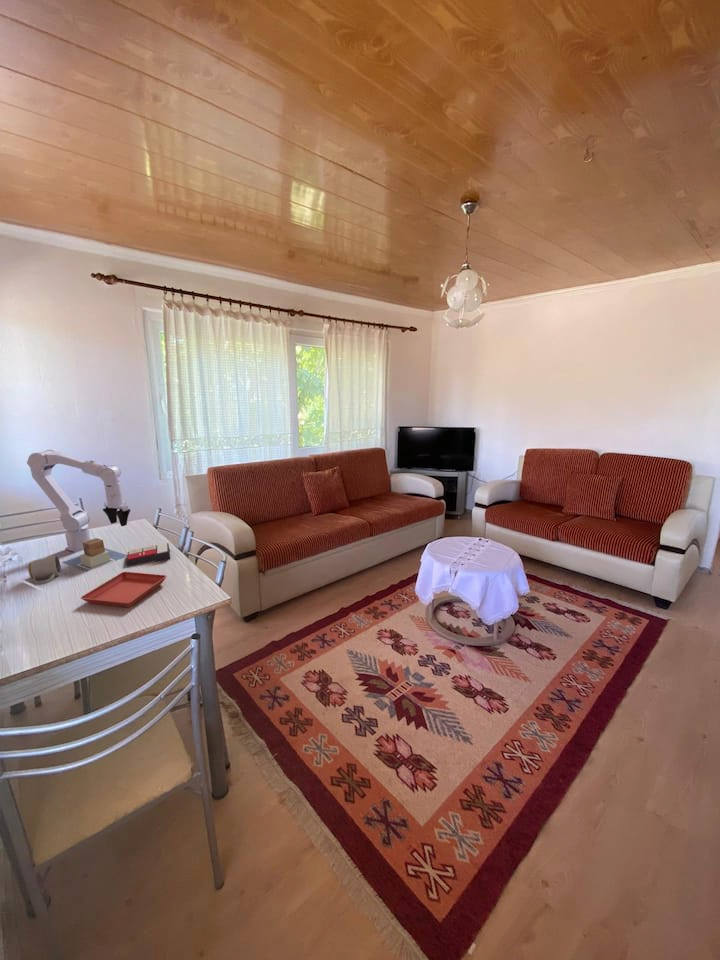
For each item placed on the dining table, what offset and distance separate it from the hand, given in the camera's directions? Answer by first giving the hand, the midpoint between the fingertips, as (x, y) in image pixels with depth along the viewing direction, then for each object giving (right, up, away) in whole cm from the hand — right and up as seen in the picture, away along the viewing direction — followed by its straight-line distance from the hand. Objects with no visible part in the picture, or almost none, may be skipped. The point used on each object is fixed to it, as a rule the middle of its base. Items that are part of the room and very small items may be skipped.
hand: (118, 524), depth 168 cm
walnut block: (+1, -9, -17) cm, 20 cm away
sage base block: (+1, -13, -16) cm, 21 cm away
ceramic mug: (-9, -17, -27) cm, 33 cm away
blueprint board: (-1, -13, -13) cm, 18 cm away
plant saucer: (+27, -19, -39) cm, 51 cm away
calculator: (+20, -13, -11) cm, 26 cm away
